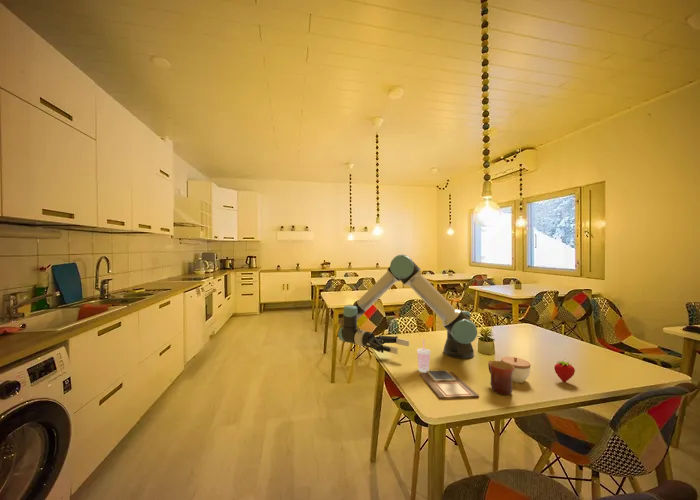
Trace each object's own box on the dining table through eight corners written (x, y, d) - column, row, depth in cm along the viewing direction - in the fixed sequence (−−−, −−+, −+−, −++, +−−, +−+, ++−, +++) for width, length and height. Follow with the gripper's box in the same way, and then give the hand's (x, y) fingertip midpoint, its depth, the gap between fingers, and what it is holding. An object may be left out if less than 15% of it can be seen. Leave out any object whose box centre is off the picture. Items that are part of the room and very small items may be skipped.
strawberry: (579, 385, 113) (579, 360, 113) (561, 385, 112) (561, 360, 112) (567, 378, 119) (566, 355, 119) (550, 379, 118) (550, 355, 118)
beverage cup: (432, 370, 126) (433, 339, 126) (426, 374, 122) (426, 342, 122) (420, 366, 130) (421, 336, 131) (414, 370, 126) (414, 339, 126)
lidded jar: (530, 387, 110) (530, 364, 110) (500, 381, 116) (500, 358, 116) (530, 377, 119) (530, 356, 119) (501, 372, 125) (501, 351, 125)
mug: (520, 396, 103) (519, 369, 103) (497, 397, 102) (497, 369, 102) (499, 382, 115) (499, 357, 115) (479, 382, 114) (479, 357, 114)
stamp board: (452, 373, 123) (452, 369, 123) (478, 397, 102) (479, 392, 102) (419, 374, 121) (419, 370, 121) (439, 399, 100) (439, 394, 100)
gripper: (376, 340, 154) (412, 348, 142) (351, 352, 133) (391, 362, 121) (376, 326, 154) (413, 333, 142) (352, 336, 133) (391, 345, 121)
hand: (403, 347), depth 132 cm, fingers open, 13 cm apart
